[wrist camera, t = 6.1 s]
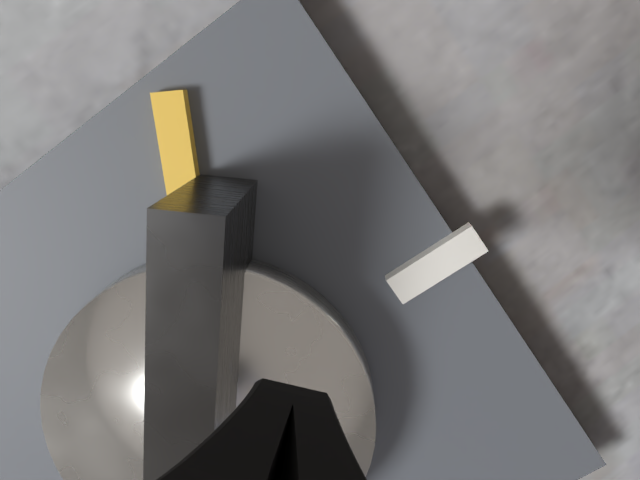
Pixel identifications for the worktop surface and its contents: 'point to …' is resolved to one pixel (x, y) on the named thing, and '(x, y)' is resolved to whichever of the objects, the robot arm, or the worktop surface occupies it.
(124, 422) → the dial
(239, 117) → the board
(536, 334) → the worktop surface
